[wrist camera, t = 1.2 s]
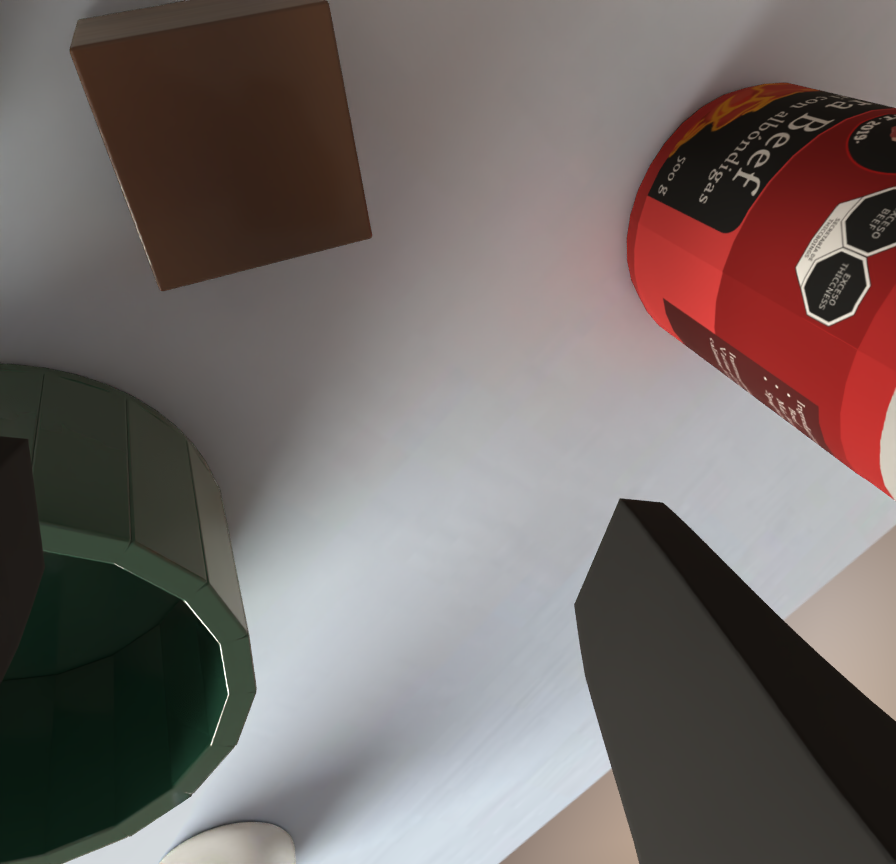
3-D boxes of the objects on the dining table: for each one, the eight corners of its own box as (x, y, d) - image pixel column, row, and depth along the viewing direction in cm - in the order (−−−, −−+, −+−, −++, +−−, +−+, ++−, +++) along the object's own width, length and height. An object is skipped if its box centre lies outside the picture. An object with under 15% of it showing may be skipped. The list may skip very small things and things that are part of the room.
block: (150, 223, 18) (159, 293, 15) (76, 19, 16) (67, 47, 12) (326, 182, 19) (373, 238, 16) (283, -17, 17) (329, 0, 13)
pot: (-247, 691, 21) (-355, 928, 16) (-250, 315, 17) (-403, 486, 12) (178, 684, 27) (194, 859, 22) (266, 400, 22) (313, 541, 17)
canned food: (843, 49, 23) (1293, 129, 14) (808, 292, 27) (1127, 462, 19) (615, 112, 21) (961, 244, 13) (619, 357, 26) (872, 574, 17)
